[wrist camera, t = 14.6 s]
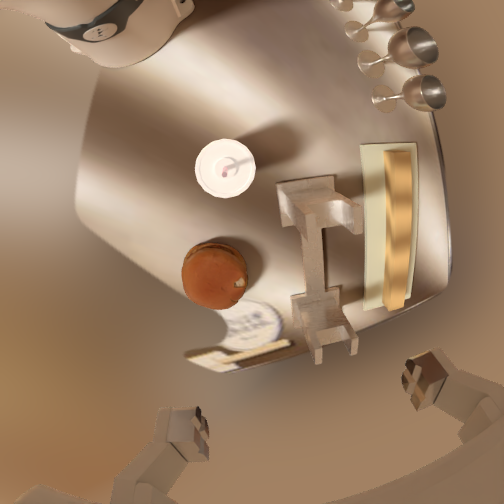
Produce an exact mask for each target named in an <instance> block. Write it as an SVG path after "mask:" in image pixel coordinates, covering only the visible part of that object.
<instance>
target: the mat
mask: <svg viewBox="0 0 504 504" xmlns="http://www.w3.org/2000/svg"><path fill="white" fill-rule="evenodd" d="M394 150H401V151H407V152H411V172H412V223H411V243H410V256H409V267H408V277H407V285H406V293H405V299H408V298H410V295H411V288H412V281H413V273H414V264H415V253H416V241H417V223H418V164H417V147H416V143H383V144H364V145H360V152H361V163H362V175H363V190H364V212H365V278H364V300H363V309H364V311H366V310H370V309H374V308H377V307H381V306H384V304H383V303H382V295H383V283H384V269H385V248H386V190H385V170H384V155H383V151H394Z"/></svg>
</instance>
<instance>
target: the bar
mask: <svg viewBox="0 0 504 504" xmlns="http://www.w3.org/2000/svg"><path fill="white" fill-rule="evenodd" d="M383 155H384V170H385V190H386V248H385V269H384V283H383V295H382V303H383V304H384V305H385V307H386V308H387V309H388V310H389V311H392V310H395V309H398V308H402V307H403V306H404V300H405V293H406V285H407V277H408V267H409V256H410V243H411V223H412V172H411V152H407V151H401V150H394V151H383Z"/></svg>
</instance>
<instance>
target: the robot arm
mask: <svg viewBox="0 0 504 504" xmlns="http://www.w3.org/2000/svg"><path fill="white" fill-rule="evenodd" d="M181 1H185V2H184V3H180V2H181ZM194 8H195V6H194V4H193V1H192V0H0V9H7V10H15V11H18V12H21V13H24V14H27V15H30V16H33V17H35V18H38V19H40V20H42V21H45V23H46V25H47V26H48V27H49V28H50V29H52V30H53V31H54V32H55V33H57V34H58V35H59V36H60V37H62V38H63V39H64V40H66V41H67V42H68V43H70V44H71V47H70V48H71V50H72V51H73V52H75V53H77V54H84V55H87V56H89V57H90V58H91V59H92V60H93V61H95V62H96V63H97V64H99V65H102V66H105V67H112V68H116V67H124V66H129V65H132V64H135V63H137V62H140V61H142V60H144V59H146V58H147V57H149V56H151V55H152V54H153V53H155V52H156V51H157V50H158V49H160V48H161V47H162V46H163V45H164V44H165V43H166V41H167V40H168V39H169V38H170V36H171V35H172V33H173V31H174V30H175V28H176V26H177V25H178V24H179V22H181V21H182V20H183V19H185V18H186V17H187V16H188V15H190V14H191V13H192V12H193V10H194ZM405 366H406V369H405V370H404V371H403V373H402V377H401V380H402V385H403V388H404V390H405V392H406V393H408V394H410V395H411V402H412V404H413V406H414V407H415V409H416V411H419V410H422V409H424V408H426V407H428V406H431V405H433V404H434V406H436V407H437V408H439V409H441V410H442V411H444V412H446V413H447V414H449V415H451V416H452V417H454V418H456V419H458V420H459V421H461V422H463V423H464V425H463V426H462V428H461V429H460V430H459V432H458V436H459V438H460V439H461V441H462V443H463V445H461V446H459V447H458V448H456V449H455V450H453V451H451V452H450V453H448V454H446V455H445V456H443V457H441V458H439V459H437V460H436V461H434V462H432V463H430V464H428V465H426V466H424V467H422V468H420V469H418V470H416V471H414V472H412V473H410V474H408V475H405V476H403V477H401V478H399V479H396V480H394V481H392V482H389V483H387V484H384V485H382V486H379V487H376V488H374V489H371V490H368V491H365V492H362V493H360V494H356V495H353V496H350V497H346V498H343V499H340V500H336V501H332V502H328V503H325V504H504V387H503V386H502V385H501V384H498V383H495V382H493V381H490V380H487V379H484V378H482V377H479V376H477V375H474V374H472V373H469V372H466V371H464V370H458V369H457V368H456V367H455V366H454V364H453V363H452V362H451V360H450V359H449V358H448V357H447V356H446V354H445V353H444V352H443V350H442V349H441V348H440V347H435V348H433V349H431V350H428V351H425V352H423V353H420V354H418V355H416V356H413V357H411V358H408V359H407V360H406V363H405ZM208 439H209V427H208V423H207V420H206V418H205V417H204V416H202V415H201V409H200V408H199V406H194V407H166V408H165V407H164V408H160V409H159V411H158V414H157V420H156V426H155V432H154V438H153V442H149V443H148V444H147V445H146V446H145V447H144V448H143V449H142V451H140V453H139V454H138V455H137V456H136V457H135V458H134V459H133V460H132V461H131V462H130V463H129V464H128V465H127V466H126V467H125V468H124V469H123V470H122V471H121V472H120V473H119V474H118V475H117V476H116V477H115V479H114V484H113V490H112V496H111V501H110V504H178V503H177V502H176V501H175V500H173V499H171V498H170V497H168V496H167V493H168V492H169V490H170V489H171V488H172V486H173V485H174V483H175V482H176V480H177V479H178V478H179V476H180V475H181V473H182V472H183V470H184V469H185V467H186V466H187V464H188V462H205V461H209V446H208V445H207V443H206V441H207V440H208ZM14 504H100V503H97V502H93V501H89V500H86V499H82V498H79V497H76V496H73V495H70V494H67V493H64V492H61V491H58V490H56V489H53V488H50V487H48V486H45V485H41V484H40V485H36V486H34V487H32V488H31V489H29V490H28V491H26V492H25V493H24V494H22V495H21V496H20V497H18V498H17V500H16V501H15V503H14Z"/></svg>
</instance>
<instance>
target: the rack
mask: <svg viewBox="0 0 504 504" xmlns="http://www.w3.org/2000/svg"><path fill="white" fill-rule="evenodd" d="M276 190H277V197H278V204H279V211H280V219H281V225H282V227H285V226H291V225H295V226H296V227H297V229H298V230H299V231H300V240H301V250H302V261H303V272H304V283H305V293H303V294H298V295H293V296H290V299H291V308H292V318H293V326H294V329H295V328H299V327H302V330H303V333H304V335H305V338H306V341H307V344H308V346H309V349H310V352H311V355H312V357H313V360H314V363H315V365H317V364H320V363H322V347H321V346H322V345H326V344H330V343H334V342H338V341H342V340H343V342H344V344H345V346H346V348H347V350H348V352H349V354H350V355H355V354H357V349H358V337H357V335H356V333H355V332H354V330H353V328H352V326H351V325H350V323H349V321H348V320H347V318H346V316H345V315H344V313H343V311H342V310H341V308H340V306H339V288H338V286H336V287H331V288H327V289H325V283H324V262H323V246H322V232H321V228H326V227H332V226H337V225H343V226H345V227H346V228H347V229H348V230H349V231H351V232H352V233H353V234H354V235H355V234H361V233H363V228H362V206H361V205H359V204H357V203H355V202H354V201H352V200H350V199H348V198H347V197H345V196H343V195H341V194H339V193H337V192H336V191H335V187H334V176H332V175H329V176H322V177H314V178H307V179H300V180H293V181H286V182H280V183H276Z"/></svg>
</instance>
